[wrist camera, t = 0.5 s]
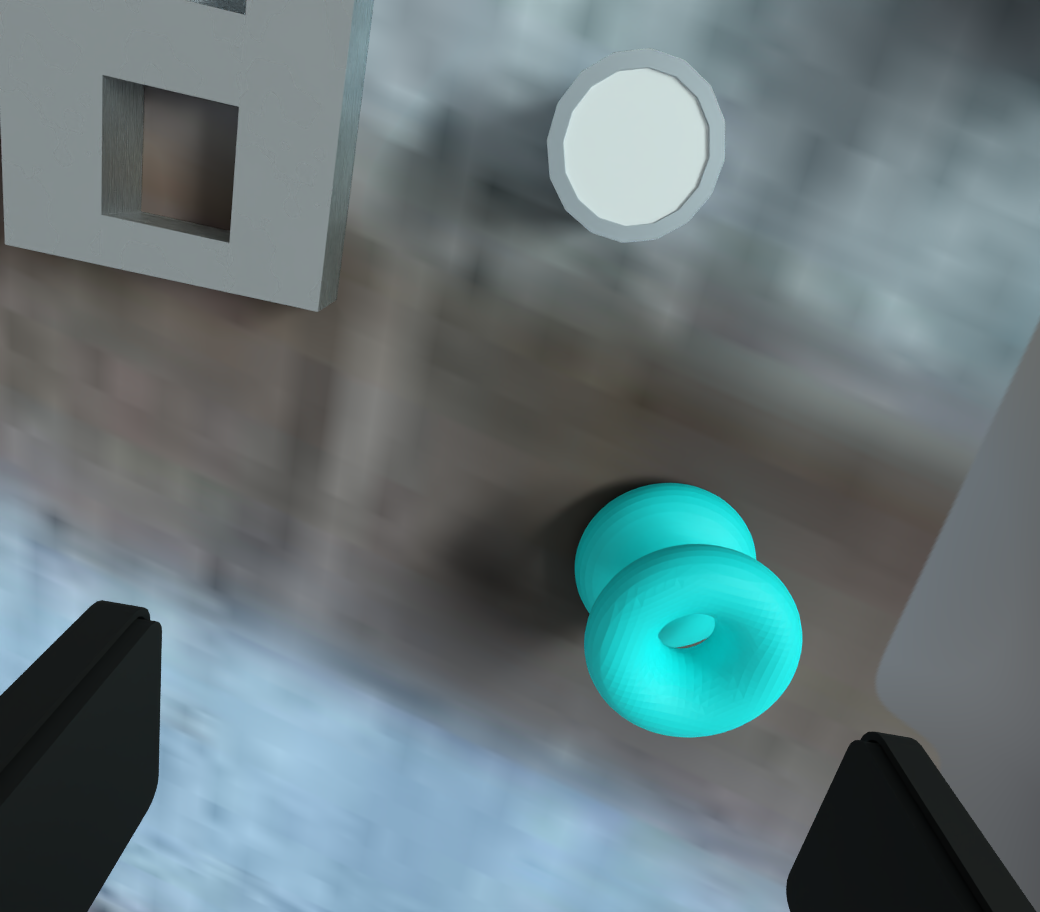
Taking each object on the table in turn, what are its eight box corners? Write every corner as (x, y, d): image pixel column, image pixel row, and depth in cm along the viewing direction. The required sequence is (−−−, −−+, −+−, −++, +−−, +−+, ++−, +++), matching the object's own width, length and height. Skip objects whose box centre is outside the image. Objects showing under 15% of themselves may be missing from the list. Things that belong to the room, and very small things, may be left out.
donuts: (849, 596, 31) (760, 770, 34) (774, 500, 40) (710, 644, 44) (628, 540, 30) (559, 724, 34) (604, 454, 39) (552, 605, 43)
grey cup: (516, 187, 35) (514, 189, 28) (588, 43, 32) (604, 8, 26) (639, 257, 36) (665, 274, 29) (717, 121, 33) (763, 108, 27)
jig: (46, -247, 29) (-16, -301, 26) (393, -156, 30) (376, -197, 27) (52, 238, 35) (4, 244, 32) (336, 299, 36) (318, 311, 33)
